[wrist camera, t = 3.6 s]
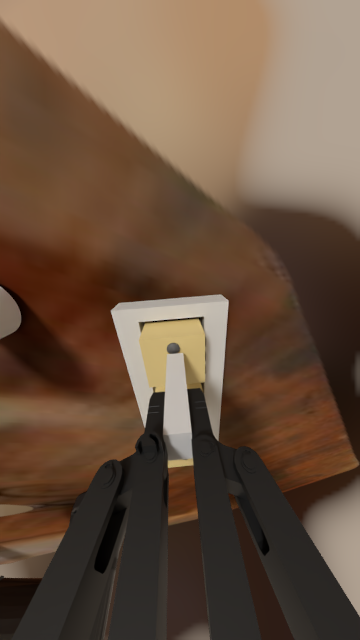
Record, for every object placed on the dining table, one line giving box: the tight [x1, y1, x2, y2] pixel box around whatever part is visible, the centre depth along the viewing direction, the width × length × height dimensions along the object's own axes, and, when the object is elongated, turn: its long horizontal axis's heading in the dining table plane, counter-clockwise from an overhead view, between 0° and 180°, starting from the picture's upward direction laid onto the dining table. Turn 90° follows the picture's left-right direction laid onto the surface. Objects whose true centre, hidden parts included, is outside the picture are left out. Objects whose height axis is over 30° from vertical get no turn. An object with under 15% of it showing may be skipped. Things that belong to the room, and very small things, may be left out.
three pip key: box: [139, 318, 206, 388], centre depth 16 cm, size 6×6×4 cm
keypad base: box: [111, 295, 229, 440], centre depth 22 cm, size 28×12×2 cm, turn 4°
